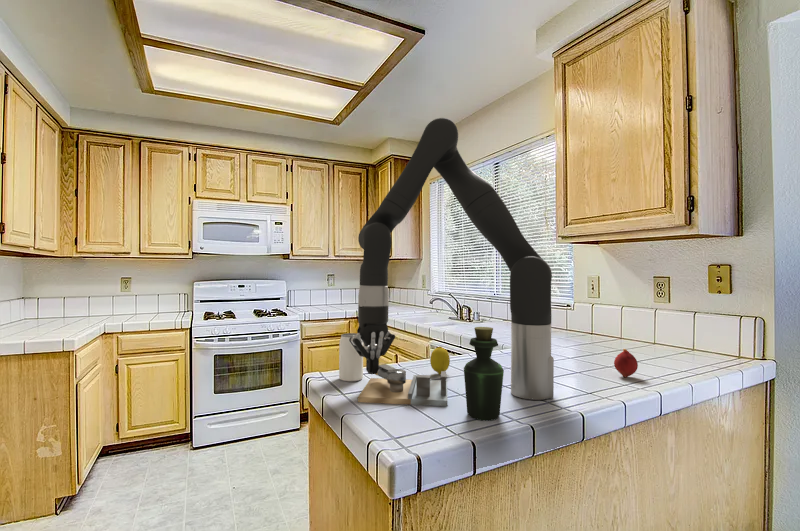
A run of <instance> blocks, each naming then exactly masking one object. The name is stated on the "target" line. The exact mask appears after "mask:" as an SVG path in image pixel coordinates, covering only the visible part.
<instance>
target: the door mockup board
mask: <svg viewBox="0 0 800 531" xmlns="http://www.w3.org/2000/svg"><path fill="white" fill-rule="evenodd" d="M357 402H358V403H363V404H364V403H368V404H369V403H371V404H389V405H390V404H393V405H394V404H395V405H413V406H437V407H440V406H441V407H448V380H447V370H446V371H441V374H440V380H435V379H433V380H432V379H431V375H429V374H428V375H427V374H414V375H413V376H412V379H407V378H406V383H404V384H400V385H394V384H389V383H387V380H386V379H384V378H382V377H380V378H377V377H376V378H375V377H371V378H369V380H368V382H367V383H366V385H365V386H364V387H363V389H362V390H361V392H360V394H359V395H358V396H357Z"/></svg>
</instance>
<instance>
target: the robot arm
mask: <svg viewBox="0 0 800 531" xmlns="http://www.w3.org/2000/svg"><path fill="white" fill-rule="evenodd" d="M458 141H459V130H458V127H457V125H456V124H455V122H454V121H452V120H451V119H448V118H446V117H438V118H435V119H432V120H431V121H429V122H428V123H427V125H426V126H425V128H424V130H423V133H422V135H421V137H420V139H419V141H418V143H417V146H416V148H415V149H414V151H413V153H412V155H411V157H410V158H409V161H408V162H407V164H406V166H405V167H404V168H403V170H402V172H401V174H400V175H399V176H398V178H397V180H396V181H395V182H394V184H393V185H392V187H390V190H389V191H388V192H387V194H386V195H385V197H384V198H383V200H382V201H381V202H380V205H379V206H378V208H377V209H376V211H375V212H374V213H373V214H372V215H371V217H370V218H369V219H368V220H367V221H366V223H365V224H364V225H363V226H362V228H361V230H359V233H358V237H357V238H358V244H359V246H360V248H361V249H362V250H363V257H362V258H363V259H362V263H361V265H360V269H359V288H358V297H357V298H358V302H357V303H358V305H357V306H358V307H357V309H358V312H357V321H358V328H357V330H356V333H357V334H356V335H355V336H354V337H351V338H350V339H349V341H350V343H351V344H352V345H353V347H354V348H355V350H356V351H357V353H358V354H359V355H360V356H362V357H363V358H364V359H365V360H366V362H365V363H366V365H365V371H366V372H367V374H369V375H375V374H377V371H378V370H379V363H380V358H381V357H382V356H386V354H387V353H388V352H389V351H388V350H389V349H390V347H391V346H392V344H393V342H394V340H395V339H396V334H392V333H391V332H390V331H389V327H388V322H389V297H390V294H389V288H388V287H389V286H388V285H389V284H388V283H389V269H388V267H389V263H390V257H391V252H392V243H393V242H392V232H393V231H394V230H395V228H396V227H397V226H398V225H399V224H401V223H402V221H404V220H405V218H406V217H407V215H408V214H409V212H410V211H411V209H412V208H413V206H414V205H415V203H416V201H417V199H418V198H419V196H420V194H421V191H422V189H424V188H423V187H424V185H425V183H426V181H427V179H428V178H429V175H430V174H431V172H432V170H433V169H435V171H436V172H437V173H438V174H439V175H440V176H441V177H442V179H443V180H444V181H445V183H446V184H447V186H448V187H449V189H450V190H451V192H452V194H453V195H454V197H455V199H456V200H457V202H458V203H459V205H460V206H461V208H462V209H463V211H464V212H465V214H466V215H467V217H468V218H469V221H470V222H472V224H473V225H474V226H475V228H476V229H477V230H478V232H479V233H480V234H481V235H482V236H483V237H484V238H485V239H486V241H488V242H489V244H490V245H492V246H493V247H494V248H495V250H496V251H497V252H498V254H499V255H500V256H501V258H502V259H503V261H504V263H505V265H506V266H507V269H508V270H509V271H510V274H509V306H510V307H509V309H510V310H509V311H510V320H511V321H510V322H511V324H510V325H511V327H510V333H511V334H510V340H511V341H510V344H511V345H510V349H511V350H510V351H511V352H510V393H511V395H513V396H515V397H517V398H520V399H526V400H532V401H533V400H534V401H535V400H536V401H538V400H539V401H542V400H548V399H554V390H555V389H554V388H555V387H554V382H555V381H554V380H555V379H554V374H555V373H554V372H555V371H554V367H555V365H554V364H555V363H554V361H555V359H554V357H553V356H552V280H553V277H552V276H553V273H552V269H551V267H550V265H549V264H548V263H547V261H546V260H545V259H544V258H542V257H541V255H539V253H538V252H537V251H536V250H535V249H534V248H533V247H532V245H531V244H530V243H529V242H528V240H526V237H524V235H523V233H522V231H521V230H520V228H519V226H518V224H517V222H516V220H515V219H514V217H513V215H512V214H511V212H510V210H509V208H508V207H507V205H506V203H505V202H504V201H503V199H502V198H501V197H500V195H499V193H498V192H497V190H495V188H494V187H493V185H491V184H490V182H488V181H487V180H486V179H484V178H483V177H482V176H480V175H478V174H477V173H475V172H474V171H473V170H472V169H471V168H470V167H469V166H468V164H467V163H466V161H465V160H464V159H463V157H462V156H461V153H460V151H459V149H458V147H457V146H458ZM361 340H362V341H363V345H362V344H361V342H362V341H361Z"/></svg>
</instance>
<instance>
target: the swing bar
mask: <svg viewBox="0 0 800 531" xmlns="http://www.w3.org/2000/svg"><path fill="white" fill-rule="evenodd" d="M374 375H376V376H378V377H380V378H383V379H386V380H387V383H389V384H394V385H400V384H404V383H406V379H407V370H405V369H400V368H399V369H397V368H396V367H393V366H391V365H389V364H387V363H384V362H382V361H381V362H380V361H379V370H378V371H377V374H374Z"/></svg>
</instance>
